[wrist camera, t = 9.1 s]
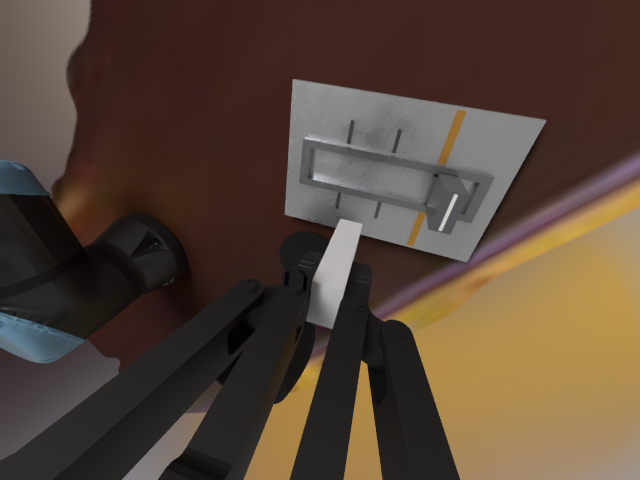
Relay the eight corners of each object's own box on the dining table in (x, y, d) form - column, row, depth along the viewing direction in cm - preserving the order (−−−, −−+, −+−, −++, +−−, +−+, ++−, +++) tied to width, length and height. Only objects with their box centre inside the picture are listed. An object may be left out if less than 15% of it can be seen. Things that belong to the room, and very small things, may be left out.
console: (290, 208, 37) (281, 217, 35) (299, 79, 28) (289, 79, 26) (464, 253, 33) (468, 267, 31) (537, 117, 24) (551, 121, 22)
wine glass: (354, 275, 40) (316, 408, 23) (302, 292, 45) (241, 410, 29) (319, 220, 37) (247, 329, 20) (268, 244, 42) (177, 347, 25)
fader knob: (423, 204, 29) (426, 229, 24) (436, 169, 27) (442, 189, 22) (444, 209, 29) (452, 235, 24) (460, 174, 27) (472, 196, 22)
